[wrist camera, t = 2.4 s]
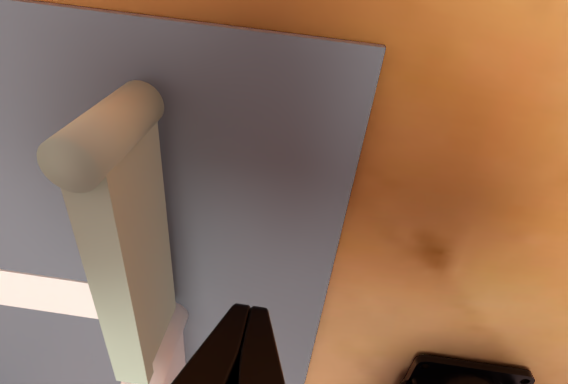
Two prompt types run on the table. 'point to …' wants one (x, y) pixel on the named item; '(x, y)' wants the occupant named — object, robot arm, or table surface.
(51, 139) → the swinging fence panel
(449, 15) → the table surface
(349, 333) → the table surface
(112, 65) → the card
